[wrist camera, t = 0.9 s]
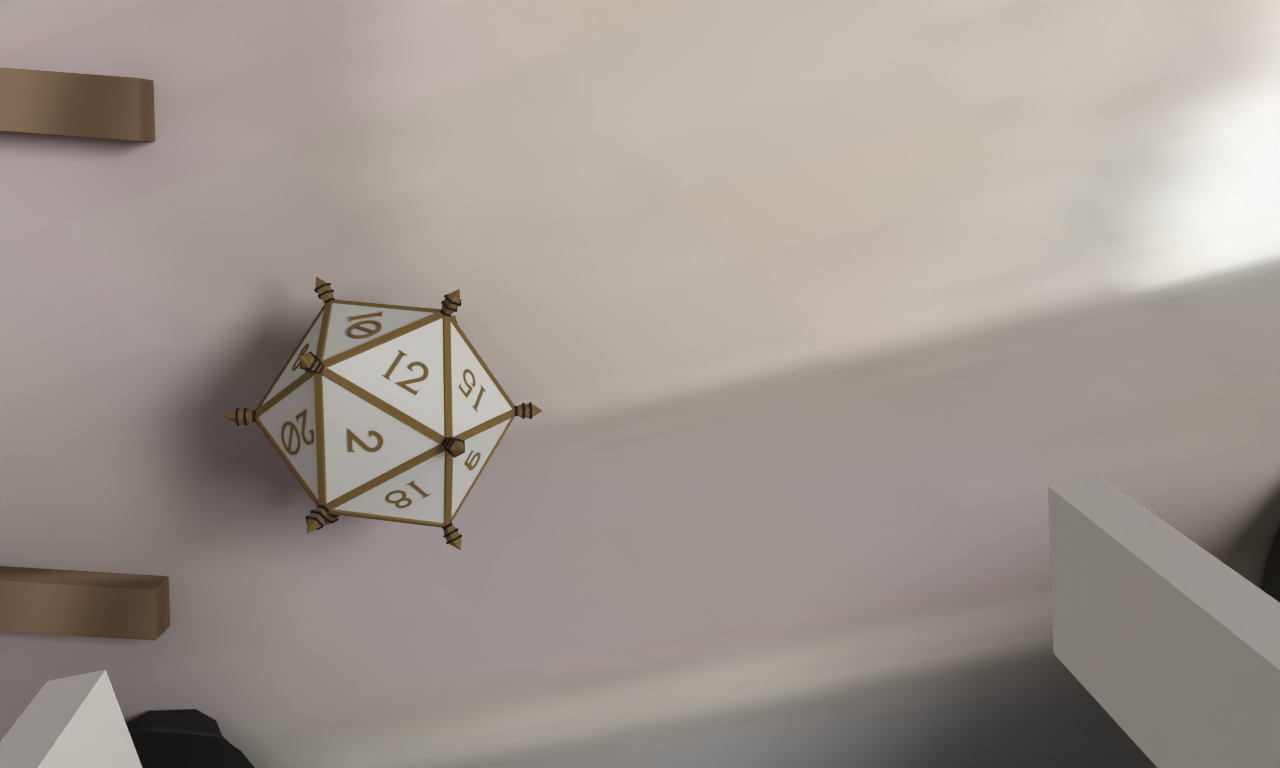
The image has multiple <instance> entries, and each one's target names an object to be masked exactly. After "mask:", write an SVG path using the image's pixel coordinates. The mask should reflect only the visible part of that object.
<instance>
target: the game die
mask: <svg viewBox="0 0 1280 768" xmlns="http://www.w3.org/2000/svg"><path fill="white" fill-rule="evenodd" d="M330 285H331V283H326V282H325V281H323V280H321V279H319V278H318V277H316V288H315V289H314V290H315V292H316V293H318V294H319V295H318V297H319V299H322V300H323V301H324V303H325V305H324V306H323V308H322V309H321V311H320V312H319V314H318V315H317V317H316V318H315V320H314V322H313V323H312V325H311V326H310V328H309V329H308V331H307V332H306V334H305V335H304V337H303V338H302V340H301V341H300V343H299V345H298V346H297V348H296V349H295V351H294V352H293V354H292V355H291V357H290V358H289V360H288V361H287V363H286V364H285V366H284V368H283V369H282V371H281V372H280V374H279V375H278V377H277V378H276V380H275V381H274V383H273V384H272V386H271V387H270V389H269V391H268V392H267V394H266V395H265V397H264V398H263V400H262V401H261V403H260V404H259V406H258V407H257V409H256V410H255V411H249V410H248V409H246V408H244V410H240V409H239V408H236V410H235V411H233V412H231V413H230V414H228V415H226V416H224V417H226V418H228V419H230V420H231V421H233V422H235V423H236V424H237V426H239V424H245V425H247V423H250V422H256V423H257V424H258V426H259V427H260V428H261V430H262V431H263V432H264V434H265V435H266V437H267V438H268V439H269V441H270V442H271V444H272V445H273V446H274V448H275V449H276V450H277V452H278V453H279V455H280V456H281V457H282V459H283V460H284V461H285V463H286V464H287V466H288V467H289V468H290V470H291V471H292V472H293V474H294V475H295V477H296V478H297V479H298V481H299V482H300V484H301V485H302V486H303V488H304V489H305V490H306V492H307V493H308V495H309V496H310V497H311V499H312V500H313V501H314V503H315V504H316V506H317V507H318V508H316V509H315V510H311V511H310V513H311V514H310V515H309V516H306V522H307V533H309V532H311V531H313V530H315V529H317V530H318V529H320V528H322V527H323V526H324V525H323V523H325V525H327V524H329V523H334V522H335V521H337V520H338V516H340V515H345V516H353V517H361V518H369V519H377V520H386V521H394V522H402V523H410V524H418V525H426V526H435V527H442V528H443V529H444V536H443V537H446V540H447V544H450V545H452V546H454V547H456V548H458V549H460V550H461V537H462V535H460V534H459V533H458V528H455V527H454V526H453V525H452V521H453V519H454V517H455V516H456V514H457V512H458V511H459V509H460V507H461V506H462V504H463V502H464V501H465V499H466V497H467V496H468V494H469V492H470V490H471V489H472V487H473V485H474V484H475V482H476V480H477V479H478V477H479V475H480V474H481V472H482V470H483V469H484V467H485V465H486V464H487V462H488V460H489V459H490V457H491V455H492V454H493V452H494V450H495V449H496V447H497V445H498V444H499V442H500V440H501V439H502V437H503V435H504V434H505V432H506V430H507V429H508V427H509V425H510V424H511V422H512V420H513V419H514V417H515V416H520V417H522V418H523V419H524V418H525V417H529V419H531V418H532V417H533V416H535V415H536V414H538V413H540V412H542V410H540V409H539V408H537V407H536V406H534V405H532V404H531V402H530V403H529V404H524V403H522V405H519V406H514V404H513V403H512V401H511V400H510V399H509V397H508V396H507V394H506V393H505V391H504V390H503V389H502V387H501V386H500V384H499V383H498V381H497V380H496V379H495V377H494V376H493V374H492V373H491V371H490V370H489V369H488V367H487V366H486V364H485V363H484V362H483V360H482V359H481V357H480V356H479V354H478V353H477V352H476V350H475V349H474V347H473V346H472V344H471V343H470V342H469V340H468V339H467V337H466V336H465V334H464V333H463V332H462V330H461V329H460V327H459V326H458V324H457V321H456V320H455V316H451V314H452V313H453V312H454V311H455V312H457V307H458V306H461V299H460V291H459V289H458V290H456V291H455V292H453V293H451V294H447V295H445V296H444V297H445V300H444V301H442V302H441V303H442V309H441V310H439V309H429V308H418V307H407V306H396V305H385V304H375V303H364V302H353V301H342V300H335V299H334V298H333V292H334V290H331V287H330Z"/></svg>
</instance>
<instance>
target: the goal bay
mask: <svg viewBox="0 0 1280 768" xmlns="http://www.w3.org/2000/svg"><path fill="white" fill-rule="evenodd" d="M0 131H13V132H26V133H40V134H53V135H66V136H80V137H93V138H106V139H120V140H133V141H155V124H154V92H153V81H152V80H146V79H139V78H129V77H116V76H103V75H90V74H77V73H64V72H51V71H38V70H25V69H12V68H0ZM169 626H170V615H169V583H168V577H164V576H148V575H131V574H115V573H99V572H83V571H67V570H51V569H35V568H19V567H3V566H0V631H8V632H25V633H41V634H58V635H75V636H91V637H108V638H124V639H141V640H156V639H157V638H158V637H159V636H160V635H161V634H162V633H163V632H164V631H165V630H166V629H167V628H168V627H169Z"/></svg>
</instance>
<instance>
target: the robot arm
mask: <svg viewBox="0 0 1280 768" xmlns="http://www.w3.org/2000/svg"><path fill="white" fill-rule="evenodd" d="M1048 499H1049V530H1050V561H1051V592H1052V623H1053V653H1054V654H1055V655H1056V657H1057V658H1058V659H1059V660H1060V661H1061V662H1062V663H1063V664H1064V665H1065V666H1066V668H1067V669H1068V670H1069V671H1070V672H1071V673H1072V674H1073V675H1074V676H1075V677H1076V679H1077V680H1078V681H1079V682H1080V683H1081V684H1082V685H1083V686H1084V687H1085V689H1086V690H1087V691H1088V692H1089V693H1090V694H1091V695H1092V696H1093V697H1094V698H1095V700H1096V701H1097V702H1098V703H1099V704H1100V705H1101V706H1102V707H1103V708H1104V709H1105V711H1106V712H1107V713H1108V714H1109V715H1110V716H1111V717H1112V718H1113V719H1114V720H1115V722H1116V723H1117V724H1118V725H1119V726H1120V727H1121V728H1122V729H1123V730H1124V731H1125V733H1126V734H1127V735H1128V736H1129V737H1130V738H1131V739H1132V740H1133V741H1134V742H1135V744H1136V745H1137V746H1138V747H1139V748H1140V749H1141V750H1142V751H1143V752H1144V753H1145V755H1146V756H1147V757H1148V758H1149V759H1150V760H1151V761H1152V762H1153V763H1154V764H1155V766H1156V767H1157V768H1280V531H1279V534H1278V536H1277V538H1276V541H1275V543H1274V545H1273V548H1272V551H1271V554H1270V557H1269V560H1268V563H1267V567H1266V571H1265V575H1264V580H1263V586H1262V590H1261V589H1260V588H1258V587H1257V586H1255V585H1254V584H1253V583H1251V582H1250V581H1248V580H1247V579H1245V578H1244V577H1243V576H1241V575H1240V574H1238V573H1237V572H1236V571H1234V570H1233V569H1231V568H1230V567H1228V566H1227V565H1226V564H1224V563H1223V562H1221V561H1220V560H1219V559H1217V558H1216V557H1214V556H1213V555H1211V554H1210V553H1209V552H1207V551H1206V550H1204V549H1203V548H1202V547H1200V546H1199V545H1197V544H1196V543H1194V542H1193V541H1192V540H1190V539H1189V538H1187V537H1186V536H1185V535H1183V534H1182V533H1180V532H1179V531H1177V530H1176V529H1175V528H1173V527H1172V526H1170V525H1169V524H1168V523H1166V522H1165V521H1163V520H1162V519H1160V518H1159V517H1158V516H1156V515H1155V514H1153V513H1152V512H1150V511H1149V510H1148V509H1146V508H1145V507H1143V506H1142V505H1141V504H1139V503H1138V502H1136V501H1135V500H1133V499H1132V498H1131V497H1129V496H1128V495H1126V494H1125V493H1124V492H1122V491H1121V490H1119V489H1118V488H1116V487H1115V486H1114V485H1112V484H1111V483H1109V482H1108V481H1107V480H1105V479H1104V478H1102V477H1101V476H1097V477H1092V478H1087V479H1081V480H1076V481H1071V482H1066V483H1061V484H1056V485H1051V486H1048ZM0 768H142V765H141V763H140V760H139V757H138V755H137V752H136V749H135V747H134V744H133V741H132V739H131V736H130V733H129V731H128V728H127V725H126V723H125V720H124V717H123V715H122V712H121V709H120V707H119V704H118V701H117V699H116V696H115V693H114V691H113V688H112V685H111V683H110V680H109V677H108V675H107V672H106V670H101V671H95V672H90V673H85V674H80V675H75V676H70V677H65V678H59V679H54V680H49V681H47V682H46V683H45V685H44V686H43V687H42V688H41V690H40V691H39V692H38V694H37V695H36V696H35V697H34V699H33V700H32V701H31V703H30V704H29V705H28V706H27V708H26V709H25V710H24V712H23V713H22V714H21V715H20V717H19V718H18V719H17V721H16V722H15V723H14V725H13V726H12V727H11V728H10V730H9V731H8V732H7V734H6V735H5V736H4V737H3V739H2V740H1V741H0Z"/></svg>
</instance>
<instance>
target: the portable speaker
mask: <svg viewBox="0 0 1280 768" xmlns="http://www.w3.org/2000/svg"><path fill="white" fill-rule="evenodd" d="M126 725H127V728H128V731H129V733H130V736H131V739H132V741H133V744H134V747H135V749H136V752H137V755H138V757H139V760H140V763H141V765H142V768H254V766H253V765H252V764H251V763H250V762H249V760H248V759H247V758H246V757H245V755H244V754H243V753H242V752H241V751H240V750H239V749H237V748H236V747H234V746H233V745H231V744H230V743H229V742H228V741H227V740H226V739H225V738H224V737H223V736H222V735H221V732H220V730H219V727H218V724H217V722H216V721H215V720H214V719H212V718H210V717H208V716H207V715H205V714H203V713H201V712H200V711H198V710H170V711H149V712H147V713H145V714H143V715H141V716H140V717H138V718H136V719H134V720H132V721H130V722H128V723H126Z"/></svg>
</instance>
